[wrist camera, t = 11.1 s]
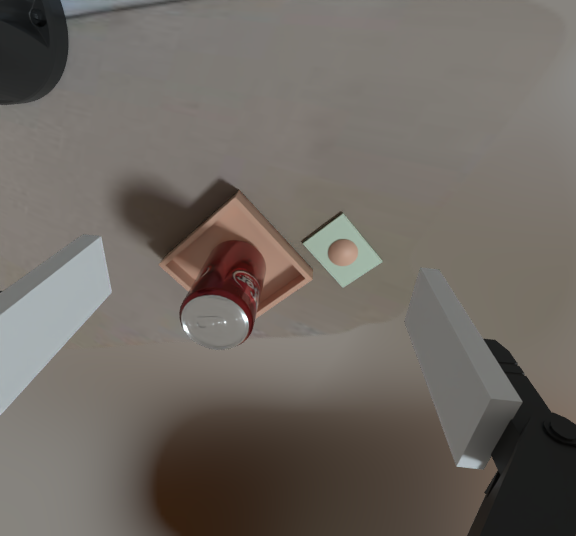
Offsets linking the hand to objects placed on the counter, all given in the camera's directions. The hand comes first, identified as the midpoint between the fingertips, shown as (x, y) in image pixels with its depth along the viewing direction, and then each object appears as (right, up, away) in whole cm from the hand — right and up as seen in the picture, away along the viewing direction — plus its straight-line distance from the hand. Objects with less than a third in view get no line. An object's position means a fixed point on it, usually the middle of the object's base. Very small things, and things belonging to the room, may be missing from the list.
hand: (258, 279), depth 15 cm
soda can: (-5, +1, +30) cm, 30 cm away
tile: (+8, +3, +29) cm, 30 cm away
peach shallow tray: (-5, +1, +30) cm, 31 cm away
